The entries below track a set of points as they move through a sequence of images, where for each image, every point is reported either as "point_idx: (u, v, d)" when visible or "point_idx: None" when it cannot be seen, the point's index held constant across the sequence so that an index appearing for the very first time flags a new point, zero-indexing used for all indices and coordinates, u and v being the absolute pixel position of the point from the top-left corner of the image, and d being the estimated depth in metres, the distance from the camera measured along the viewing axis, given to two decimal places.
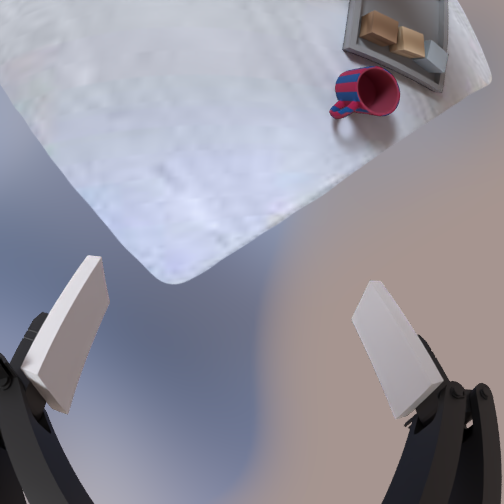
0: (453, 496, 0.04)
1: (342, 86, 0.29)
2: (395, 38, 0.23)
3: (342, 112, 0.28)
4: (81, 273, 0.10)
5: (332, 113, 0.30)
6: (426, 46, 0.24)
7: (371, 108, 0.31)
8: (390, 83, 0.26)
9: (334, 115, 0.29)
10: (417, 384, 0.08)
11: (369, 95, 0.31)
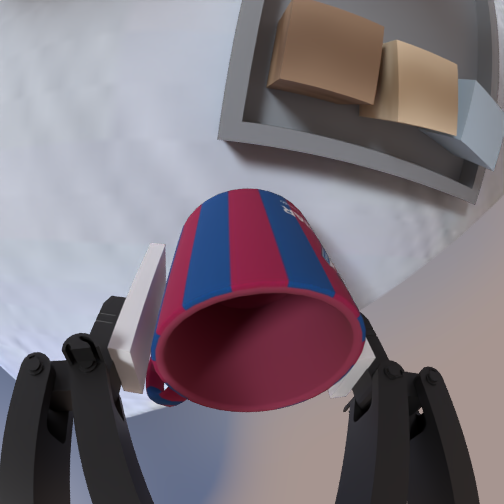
0: (420, 491, 0.05)
1: None
2: (371, 86, 0.09)
3: (154, 401, 0.10)
4: (150, 258, 0.11)
5: None
6: (460, 98, 0.09)
7: (284, 311, 0.13)
8: None
9: None
10: None
11: None
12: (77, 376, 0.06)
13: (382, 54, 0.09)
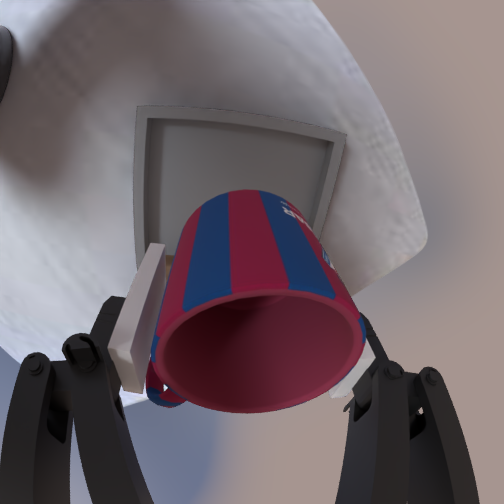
0: (420, 491, 0.05)
1: None
2: None
3: (154, 402, 0.10)
4: (150, 258, 0.11)
5: None
6: None
7: (284, 312, 0.13)
8: None
9: None
10: None
11: None
12: (77, 376, 0.06)
13: None
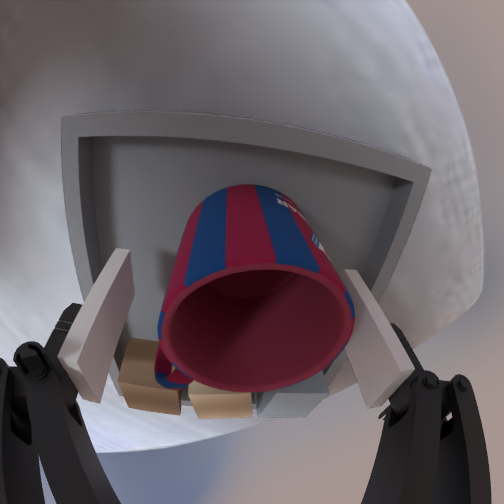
0: (439, 493, 0.04)
1: None
2: (176, 411, 0.16)
3: (162, 385, 0.11)
4: (112, 265, 0.10)
5: None
6: (268, 391, 0.17)
7: (284, 299, 0.14)
8: None
9: None
10: (387, 372, 0.08)
11: None
12: (30, 385, 0.05)
13: None
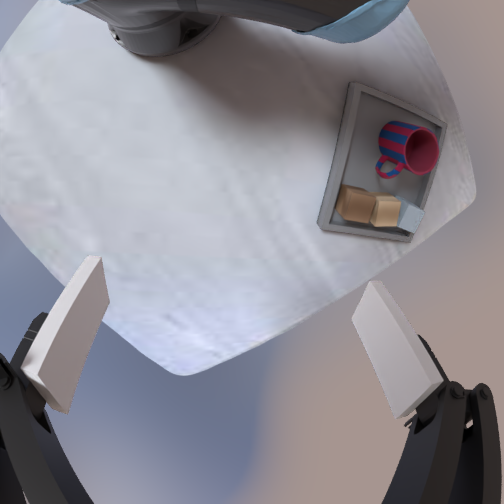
0: (453, 496, 0.04)
1: (387, 142, 0.32)
2: (368, 218, 0.36)
3: (390, 174, 0.31)
4: (81, 273, 0.10)
5: (379, 173, 0.32)
6: (402, 209, 0.37)
7: (410, 160, 0.34)
8: (430, 140, 0.29)
9: (382, 175, 0.32)
10: (417, 384, 0.08)
11: (408, 145, 0.34)
12: None
13: None
